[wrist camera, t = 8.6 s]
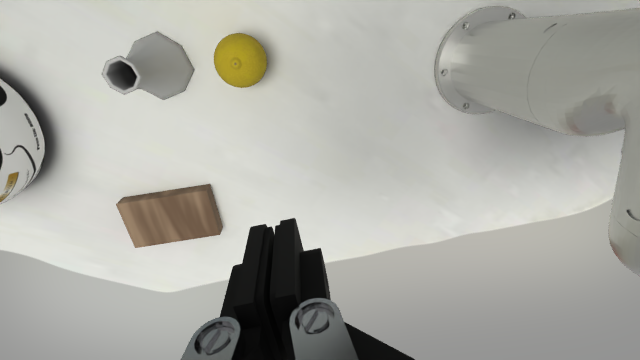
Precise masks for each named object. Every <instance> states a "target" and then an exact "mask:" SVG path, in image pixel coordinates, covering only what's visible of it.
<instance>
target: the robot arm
mask: <svg viewBox="0 0 640 360" xmlns="http://www.w3.org/2000/svg"><path fill="white" fill-rule="evenodd" d="M508 16H509V18H508ZM463 24H464V28H462V25H463ZM441 70H443V73H442V74H441ZM435 78H436V83H437V86H438V89H439V91H440V93H441V95H442V96H443V98H444V99H445V101H447V102H448V103H449V104H450V105H451V106H453V107H454V108H456V109H458V110H460V111H462V112H465V113H470V114H484V113H489V112H492V111H495V110H498V111H500V112H503V113H506V114H509V115H512V116H514V117H517V118H520V119H523V120H526V121H528V122H531V123H534V124H537V125H540V126H543V127H545V128H548V129H551V130H554V131H557V132H560V133H564V134H568V135H572V136H583V137H587V136H599V135H604V134H608V133H612V132H616V131H619V130H622V129H625V135H624V141H623V147H622V151H621V152H622V158H621V162H620V167H619V172H618V177H617V182H616V187H615V192H614V197H613V202H612V208H611V213H610V219H609V230H608V231H609V240H610V244H611V247H612V249H613V251H614V253H615V255H616V256H617V257H618V259H619V260H620V261H621V262H622V263H623V264H624V265H625V266H626V267H627V268H629V269H630V270H631V271H633V272H634V273H635V274H637V275H638V276H640V8H634V9H625V10H615V11H604V12H594V13H585V14H573V15H561V16H549V17H537V18H526V17H525V16H524V15H523V14H521V13H520V12H518V11H517V10H514V9H512V8H509V7H503V6H493V7H486V8H481V9H478V10H476V11H474V12H471V13H469V14H468V15H466V16H465V17H463V18H462V19H460V20H459V21H458V22H457V23H456V24H455V25H454V26H453V27H452V28H451V30H450V31H449V32H448V33H447V35H446V36H445V38H444V40H443V42H442V44H441V45H440V48H439V51H438V54H437V58H436V64H435ZM463 104H464V106H463ZM181 360H415V359H413V358H411V357H409V356H407V355H406V354H404V353H402V352H400V351H398V350H396V349H394V348H393V347H390V346H388V345H387V344H385V343H383V342H381V341H379V340H377V339H375V338H374V337H372V336H370V335H368V334H366V333H364V332H362V331H360V330H359V329H357V328H355V327H353V326H351V325H349V324H347V323H345V322H344V321H343V318H342V316H341V313H340V310H339V308H338V307H337V305H336V304H335V303H334V302H332V301H331V299H330V292H329V286H328V279H327V274H326V269H325V264H324V260H323V255H322V251H321V248H318V249H313V250H308V251H303V247H302V243H301V239H300V235H299V231H298V227H297V223H296V219H295V218H293V219H288V220H283V221H280V225H277V226H275V235H274V231H273V228H272V227H267V226H266V224H263V225H258V226H253V227H251V228H250V231H249V236H248V240H247V245H246V249H245V254H244V258H243V263H242V264H239V265H235V266H233V269H232V272H231V276H230V280H229V283H228V287H227V291H226V295H225V299H224V303H223V307H222V310H221V314H220V317H219V318H215V319H213V320H211V321H208V322H207V323H205V324H204V325H203V326H201V327H200V328H199V329H198V330H197V331H196V332H195V333H194V335H193V337H192V338H191V340H190V342H189V344H188V346H187V348H186V350H185V352H184V354H183V356H182V358H181Z"/></svg>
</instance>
